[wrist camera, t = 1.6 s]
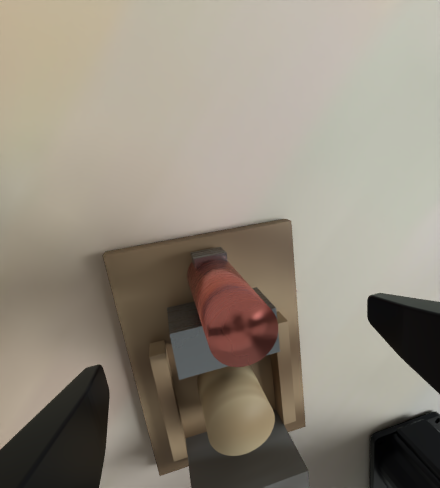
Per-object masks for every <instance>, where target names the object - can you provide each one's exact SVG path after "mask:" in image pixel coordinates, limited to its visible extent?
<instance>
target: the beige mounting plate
mask: <svg viewBox="0 0 440 488" xmlns="http://www.w3.org/2000/svg"><path fill="white" fill-rule="evenodd" d="M217 247H222V248H223V249H224V250H225V252H226V253H227V260H228V262H229V263H230V264H231V265H232V266H233V267H234V268H235V270H236V271H237V272H238V273H239V274H240V275H241V276H242V277H243V279H244V280H245V281H246V282H247V283H248V284H249V285H250V286H251V288H255V287H257V288H258V289H259V290H260V291H261V292H262V293H263V294H264V295H265V297H266V298H267V299H268V300H269V301H270V302H271V303H272V304H273V305H274V306H275V307H276V311H277V321H278V333H279V344H280V352H277V353H274V354H270V355H267V356H265V357H264V358H262V359H261V360H260V361H258V362H256V363H254V364H252V365H250V366H251V368H252V370H253V372H254V374H255V376H256V378H257V380H258V382H259V384H260V386H261V388H262V390H263V392H264V394H265V396H266V397H267V399H268V401H269V403H270V405H271V407H272V409H273V412H274V416H275V423H274V427H273V430H272V432H271V434H270V436H269V437H268V438H267V440H266V441H265V442H264V443H263V444H262V445H261V446H259V447H258V448H256V449H255V450H253V451H251V452H249V453H246V454H243V455H238V456H228V455H224V454H221V453H219V452H217V451H216V450H215V449H214V448H213V447H212V446H211V444H210V442H209V439H208V434H207V429H206V424H205V420H204V415H203V410H202V405H201V401H200V396H199V391H198V385H197V381H198V376H199V375H195V376H191V377H188V378H184V379H181V380H179V377H178V372H177V367H176V363H175V358H174V353H173V348H172V344H171V339H170V334H169V323H168V313H167V308H168V307H172V306H176V305H181V304H185V303H189V302H194V299H193V296H192V293H191V290H190V287H189V284H188V280H187V272H188V268H189V266H190V264H191V263H192V258H191V252H196V251H201V250H206V249H211V248H217ZM103 259H104V263H105V266H106V270H107V274H108V278H109V282H110V286H111V290H112V293H113V297H114V301H115V305H116V309H117V313H118V317H119V320H120V324H121V328H122V332H123V336H124V340H125V344H126V348H127V351H128V355H129V359H130V363H131V367H132V371H133V375H134V378H135V382H136V386H137V390H138V394H139V398H140V402H141V405H142V409H143V413H144V417H145V421H146V425H147V429H148V433H149V436H150V440H151V444H152V448H153V452H154V456H155V460H156V463H157V467H158V471H159V475H160V476H161V475H164V474H167V473H170V472H173V471H176V470H179V469H182V468H185V467H188V466H189V471H190V479H191V488H309V475H308V469H307V467H306V466H305V464H304V462H303V460H302V458H301V456H300V454H299V452H298V450H297V448H296V447H295V445H294V443H293V441H292V439H291V437H290V435H289V433H288V432H290V431H293V430H296V429H299V428H302V427H305V413H304V398H303V384H302V369H301V355H300V340H299V326H298V311H297V297H296V283H295V268H294V254H293V239H292V225H291V221H290V220H287V219H281V220H276V221H270V222H265V223H259V224H254V225H248V226H243V227H238V228H232V229H227V230H221V231H216V232H210V233H205V234H199V235H194V236H188V237H183V238H178V239H172V240H167V241H161V242H156V243H150V244H145V245H139V246H134V247H129V248H123V249H118V250H112V251H107V252H105V253H104V255H103Z"/></svg>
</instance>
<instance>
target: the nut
mask: <svg viewBox="0 0 440 488" xmlns="http://www.w3.org/2000/svg"><path fill="white" fill-rule="evenodd" d="M197 385H198V391H199V396H200V401H201V405H202V410H203V415H204V420H205V424H206V429H207V434H208V439H209V442H210V444H211V446H212V447H213V448H214V449H215V450H216V451H217V452H219V453H221V454H224V455H228V456H238V455H243V454H246V453H249V452H251V451H253V450H255V449H256V448H258V447H259V446H261V445H262V444H263V443H264V442H265V441H266V440H267V438H268V437H269V436H270V434H271V432H272V430H273V427H274V423H275V416H274V412H273V409H272V407H271V405H270V403H269V401H268V399H267V397H266V396H265V394H264V392H263V390H262V388H261V386H260V384H259V382H258V380H257V378H256V376H255V374H254V372H253V370H252V368H251V366H250V365H249V366H244V367H231V366H227V367H224V368H220V369H216V370H213V371H209V372H206V373H202V374H199V376H198V381H197Z"/></svg>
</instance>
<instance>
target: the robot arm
mask: <svg viewBox="0 0 440 488" xmlns="http://www.w3.org/2000/svg"><path fill="white" fill-rule="evenodd" d="M367 317H368V320H369V322H370V324H371V325H372V326H373V327H374V328H375V330H376V331H377V332H378V333H379V334H380V335H381V336H382V337H383V338H384V339H385V341H386V342H387V343H388V344H389V345H390V346H391V347H392V348H393V349H394V351H395V352H396V353H397V354H398V355H399V356H400V357H401V358H402V359H403V360H404V361H405V362H406V363H407V364H408V365H409V366H410V367H411V368H412V369H413V370H415V371H416V372H417V373H418V374H419V375H420V376H421V377H422V378H423V379H424V380H425V381H426V382H427V383H428V384H430V385H431V386H432V387H433V388H434V389H435V390H436V391H437V392H438V393H439V394H440V302H436V301H429V300H423V299H416V298H410V297H403V296H397V295H390V294H384V293H377V294H374V295H370V296H369V297H368V300H367ZM108 409H109V387H108V384H107V380H106V377H105V373H104V370H103V367H102V366H101V365H95V366H91V367H87V368H85V369H84V370H83V371H82V372H81V373H80V374H79V375H78V376H77V377H76V378H75V379H74V380H73V381H72V382H71V383H70V384H69V385H68V386H66V387H65V388H64V389H63V390H62V391H61V392H60V393H59V394H58V395H57V396H56V397H55V398H54V399H53V400H52V401H51V402H50V403H49V404H48V405H47V406H46V407H45V408H43V409H42V410H41V411H40V412H39V413H38V414H37V415H36V416H35V417H34V418H33V419H32V420H31V421H30V422H29V423H28V424H27V425H26V426H25V427H24V428H23V429H21V430H20V431H19V432H18V433H17V434H16V435H15V436H14V437H13V438H12V439H11V440H10V441H9V442H8V443H7V444H6V445H5V446H4V447H3V448H2V449H1V450H0V488H99V485H100V479H101V473H102V468H103V462H104V456H105V449H106V437H107V423H108ZM370 488H440V414H439V413H437V412H432V413H429V414H426V415H424V416H421V417H418V418H415V419H413V420H410V421H407V422H404V423H402V424H399V425H396V426H393V427H391V428H388V429H385V430H382V431H380V432H377V433H375V434H373V435H372V437H371V444H370Z"/></svg>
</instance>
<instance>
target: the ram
mask: <svg viewBox="0 0 440 488" xmlns="http://www.w3.org/2000/svg"><path fill="white" fill-rule="evenodd" d="M191 258H192V263H191V264H190V266H189V268H188V272H187V280H188V284H189V287H190V290H191V293H192V296H193V299H194V302H189V303H185V304H181V305H176V306H172V307H168V308H167V313H168V323H169V334H170V339H171V344H172V348H173V353H174V358H175V363H176V367H177V372H178V377H179V380H181V379H184V378H188V377H191V376H195V375H199V374H202V373H206V372H209V371H213V370H216V369H220V368H224V367H227V366H231V367H244V366H249V365H252V364H254V363H256V362H258V361H260V360H261V359H262V358H264V357H265V356H267V355H270V354H274V353H277V352H280V344H279V333H278V321H277V311H276V307H275V306H274V305H273V304H272V303H271V302H270V301H269V300H268V299H267V298H266V297H265V295H264V294H263V293H262V292H261V291H260V290H259V289H258V288H257V287H255V288H251V286H250V285H249V284H248V283H247V282H246V281H245V280H244V279H243V277H242V276H241V275H240V274H239V273H238V272H237V271H236V270H235V268H234V267H233V266H232V265H231V264H230V263H229V262H228V260H227V253H226V252H225V250H224V249H223V248H222V247H217V248H211V249H206V250H201V251H196V252H191Z"/></svg>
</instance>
